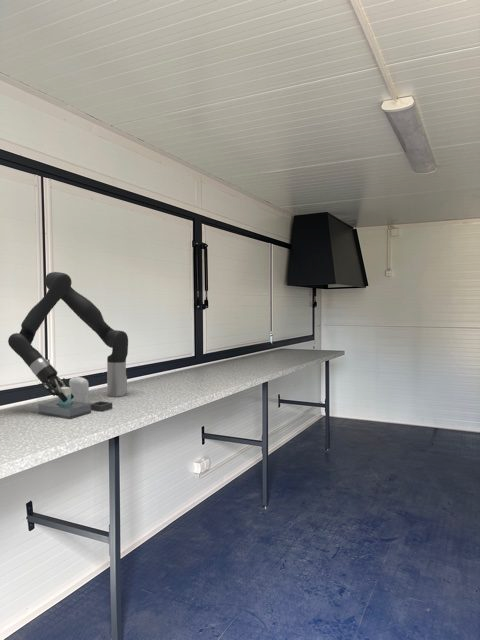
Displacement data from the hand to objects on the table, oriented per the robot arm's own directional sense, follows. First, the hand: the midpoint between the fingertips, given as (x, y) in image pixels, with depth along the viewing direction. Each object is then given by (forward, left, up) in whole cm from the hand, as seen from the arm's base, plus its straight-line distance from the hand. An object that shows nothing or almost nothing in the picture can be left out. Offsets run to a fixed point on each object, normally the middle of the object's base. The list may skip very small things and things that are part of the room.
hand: (69, 399), depth 195 cm
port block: (0, -2, -6) cm, 6 cm away
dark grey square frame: (-13, +6, -6) cm, 15 cm away
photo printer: (-17, -11, -6) cm, 21 cm away
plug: (0, -2, -4) cm, 5 cm away
